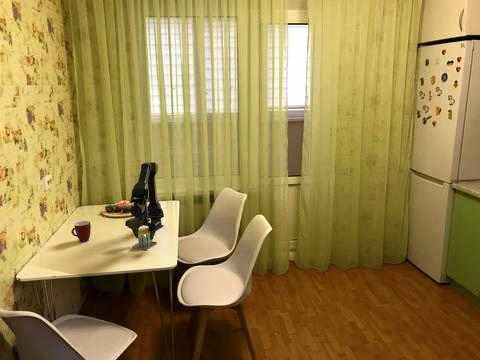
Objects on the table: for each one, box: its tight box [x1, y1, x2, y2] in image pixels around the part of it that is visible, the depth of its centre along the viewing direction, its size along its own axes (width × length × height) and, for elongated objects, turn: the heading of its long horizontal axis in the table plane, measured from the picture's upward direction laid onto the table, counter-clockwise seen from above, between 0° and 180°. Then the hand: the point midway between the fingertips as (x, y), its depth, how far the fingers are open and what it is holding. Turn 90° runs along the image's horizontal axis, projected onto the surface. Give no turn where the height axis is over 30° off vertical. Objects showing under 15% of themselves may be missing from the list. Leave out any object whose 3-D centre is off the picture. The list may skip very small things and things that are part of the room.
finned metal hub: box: [131, 233, 158, 251], centre depth 204 cm, size 9×9×6 cm
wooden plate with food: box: [100, 197, 149, 219], centre depth 266 cm, size 32×32×8 cm
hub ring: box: [137, 233, 151, 246], centre depth 204 cm, size 6×6×4 cm
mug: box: [71, 220, 92, 243], centre depth 213 cm, size 10×8×10 cm
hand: (144, 239), depth 204 cm, fingers open, 9 cm apart
